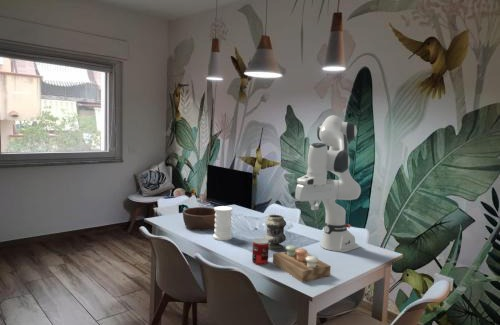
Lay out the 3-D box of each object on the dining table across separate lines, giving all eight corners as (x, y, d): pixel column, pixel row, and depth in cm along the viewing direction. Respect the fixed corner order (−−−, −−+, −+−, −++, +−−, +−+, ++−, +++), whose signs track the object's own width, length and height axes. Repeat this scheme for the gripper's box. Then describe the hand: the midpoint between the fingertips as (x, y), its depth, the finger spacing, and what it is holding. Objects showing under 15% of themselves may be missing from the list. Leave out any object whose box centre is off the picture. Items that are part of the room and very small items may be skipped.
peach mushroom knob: (301, 262, 176) (302, 247, 175) (308, 266, 171) (309, 251, 170) (292, 264, 173) (293, 249, 172) (299, 268, 168) (300, 253, 168)
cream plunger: (311, 270, 169) (312, 255, 168) (319, 275, 164) (320, 259, 163) (302, 272, 166) (303, 257, 166) (309, 277, 161) (310, 261, 161)
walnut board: (298, 258, 187) (299, 249, 186) (329, 276, 166) (330, 265, 165) (272, 263, 179) (273, 253, 178) (302, 282, 158) (302, 271, 157)
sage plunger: (292, 259, 183) (292, 244, 182) (298, 263, 178) (299, 248, 177) (282, 260, 180) (283, 246, 179) (289, 264, 175) (290, 249, 175)
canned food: (252, 258, 184) (253, 237, 183) (268, 259, 183) (269, 238, 182) (251, 264, 176) (252, 242, 175) (267, 265, 176) (268, 243, 175)
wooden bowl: (174, 225, 237) (174, 210, 236) (202, 219, 256) (203, 205, 255) (199, 234, 221) (200, 218, 220) (228, 226, 240) (228, 211, 239)
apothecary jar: (278, 242, 211) (280, 212, 209) (289, 249, 200) (291, 217, 198) (260, 244, 206) (261, 214, 204) (270, 251, 195) (271, 219, 193)
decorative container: (227, 241, 209) (228, 211, 208) (209, 238, 213) (210, 209, 211) (235, 236, 220) (236, 207, 218) (217, 233, 224) (218, 205, 222)
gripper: (329, 177, 168) (327, 206, 170) (293, 179, 159) (292, 209, 160) (338, 179, 163) (336, 209, 164) (302, 181, 153) (300, 213, 154)
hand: (314, 209), depth 162 cm, fingers closed
